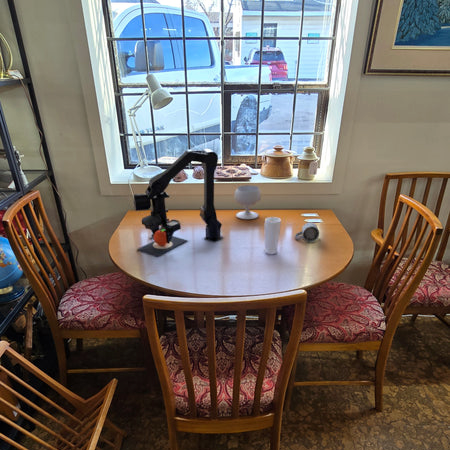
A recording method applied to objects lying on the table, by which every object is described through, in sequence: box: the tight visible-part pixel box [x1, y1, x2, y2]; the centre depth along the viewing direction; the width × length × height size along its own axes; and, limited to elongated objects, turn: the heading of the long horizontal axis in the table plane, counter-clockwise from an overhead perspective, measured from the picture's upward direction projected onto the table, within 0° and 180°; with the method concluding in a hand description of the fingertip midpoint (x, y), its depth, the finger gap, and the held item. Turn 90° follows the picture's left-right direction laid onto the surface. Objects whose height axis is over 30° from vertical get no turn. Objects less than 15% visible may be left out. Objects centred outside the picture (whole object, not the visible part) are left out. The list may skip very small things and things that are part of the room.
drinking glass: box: [263, 216, 282, 255], centre depth 159 cm, size 7×7×15 cm
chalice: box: [234, 185, 262, 220], centre depth 197 cm, size 14×14×15 cm
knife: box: [150, 219, 180, 240], centre depth 184 cm, size 25×6×1 cm, turn 154°
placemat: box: [137, 235, 188, 258], centre depth 169 cm, size 12×20×1 cm, turn 145°
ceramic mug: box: [294, 222, 320, 243], centre depth 173 cm, size 11×8×8 cm
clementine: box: [153, 229, 167, 245], centre depth 167 cm, size 8×7×7 cm
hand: (162, 241), depth 168 cm, fingers closed on clementine, 7 cm apart
